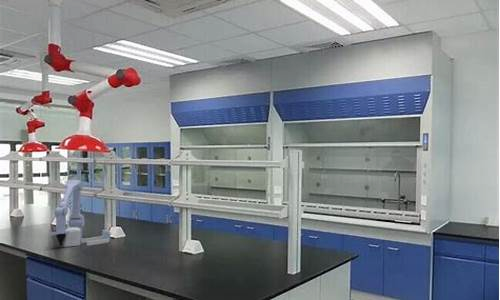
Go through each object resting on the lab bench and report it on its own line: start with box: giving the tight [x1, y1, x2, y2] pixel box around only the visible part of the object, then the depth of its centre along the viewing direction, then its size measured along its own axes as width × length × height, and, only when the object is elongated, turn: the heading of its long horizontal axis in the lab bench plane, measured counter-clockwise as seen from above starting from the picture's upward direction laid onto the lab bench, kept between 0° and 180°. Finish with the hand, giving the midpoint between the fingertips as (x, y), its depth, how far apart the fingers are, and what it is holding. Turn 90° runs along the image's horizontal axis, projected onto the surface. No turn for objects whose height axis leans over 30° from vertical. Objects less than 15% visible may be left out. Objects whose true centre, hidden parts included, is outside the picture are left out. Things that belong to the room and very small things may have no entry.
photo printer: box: [63, 227, 81, 248], centre depth 258 cm, size 10×4×12 cm, turn 124°
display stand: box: [80, 229, 112, 246], centre depth 269 cm, size 12×16×7 cm
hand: (60, 245), depth 253 cm, fingers closed
